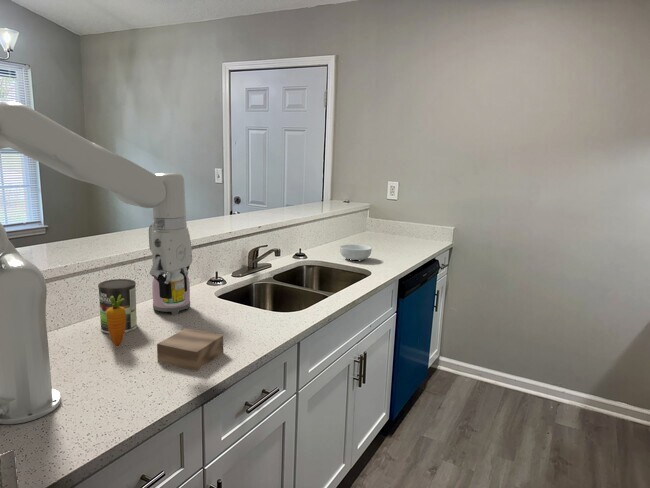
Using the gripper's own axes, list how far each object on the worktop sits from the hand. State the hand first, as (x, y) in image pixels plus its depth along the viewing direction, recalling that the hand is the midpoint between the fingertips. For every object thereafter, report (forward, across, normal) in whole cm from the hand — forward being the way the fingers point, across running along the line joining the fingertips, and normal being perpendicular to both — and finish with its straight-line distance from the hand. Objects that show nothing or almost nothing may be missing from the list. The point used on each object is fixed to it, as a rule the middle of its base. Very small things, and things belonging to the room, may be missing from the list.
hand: (173, 293), depth 115 cm
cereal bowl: (+22, +138, -9) cm, 140 cm away
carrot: (+18, 0, +20) cm, 27 cm away
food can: (+18, +11, +30) cm, 37 cm away
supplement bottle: (+3, 0, 0) cm, 3 cm away
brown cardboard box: (+18, +3, -2) cm, 19 cm away
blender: (+19, +32, +28) cm, 47 cm away
